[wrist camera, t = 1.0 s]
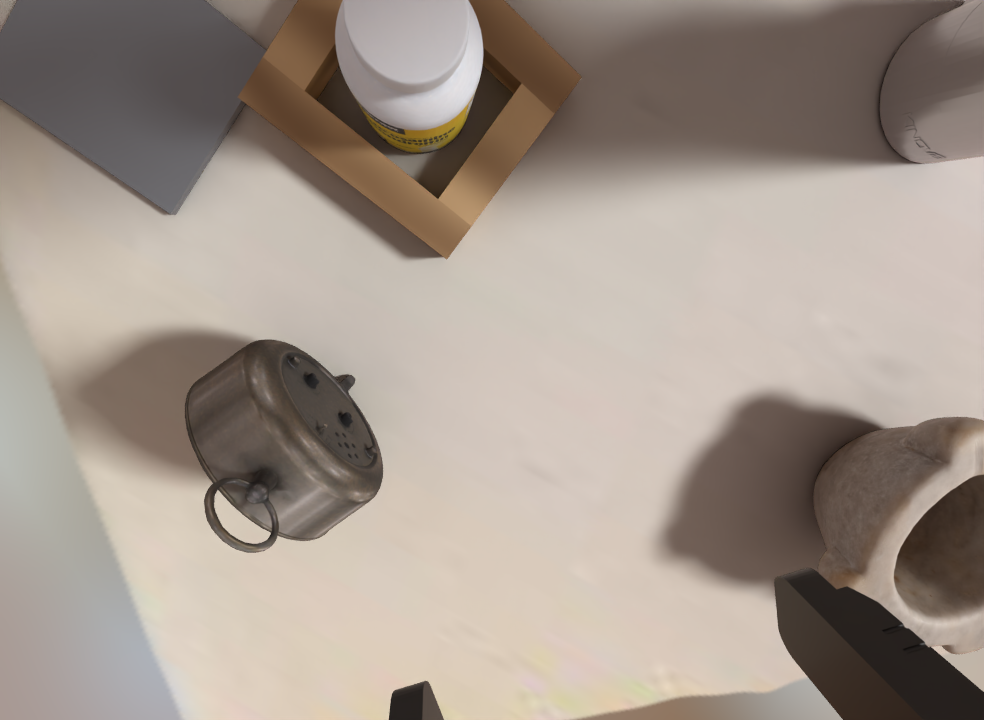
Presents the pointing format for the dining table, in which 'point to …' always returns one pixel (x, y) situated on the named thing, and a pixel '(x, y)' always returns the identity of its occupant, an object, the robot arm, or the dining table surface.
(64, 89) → the slate coaster
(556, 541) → the dining table surface
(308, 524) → the alarm clock
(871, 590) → the mortar
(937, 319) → the dining table surface
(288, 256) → the dining table surface
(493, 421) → the dining table surface
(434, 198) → the wooden square frame
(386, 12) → the pill bottle
